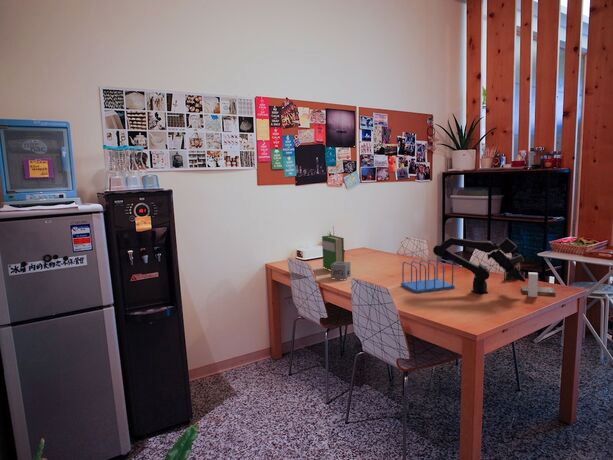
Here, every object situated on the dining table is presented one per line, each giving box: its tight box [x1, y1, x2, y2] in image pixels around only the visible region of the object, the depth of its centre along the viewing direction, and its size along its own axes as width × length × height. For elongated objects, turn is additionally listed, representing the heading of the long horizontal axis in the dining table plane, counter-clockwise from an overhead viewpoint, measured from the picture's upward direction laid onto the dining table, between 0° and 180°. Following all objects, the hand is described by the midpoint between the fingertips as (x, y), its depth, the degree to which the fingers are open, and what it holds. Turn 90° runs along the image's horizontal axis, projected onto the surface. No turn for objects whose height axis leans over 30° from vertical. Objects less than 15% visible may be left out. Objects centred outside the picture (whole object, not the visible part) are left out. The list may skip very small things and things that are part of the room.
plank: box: [520, 285, 556, 297], centre depth 216 cm, size 15×10×2 cm, turn 65°
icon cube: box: [330, 261, 352, 280], centre depth 266 cm, size 10×10×10 cm
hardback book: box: [321, 235, 345, 270], centre depth 289 cm, size 18×7×24 cm, turn 26°
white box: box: [527, 271, 539, 298], centre depth 214 cm, size 4×13×12 cm, turn 155°
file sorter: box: [400, 258, 455, 294], centre depth 235 cm, size 25×17×15 cm
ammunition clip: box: [503, 262, 522, 281], centre depth 246 cm, size 11×2×12 cm, turn 106°
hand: (524, 281), depth 212 cm, fingers closed
